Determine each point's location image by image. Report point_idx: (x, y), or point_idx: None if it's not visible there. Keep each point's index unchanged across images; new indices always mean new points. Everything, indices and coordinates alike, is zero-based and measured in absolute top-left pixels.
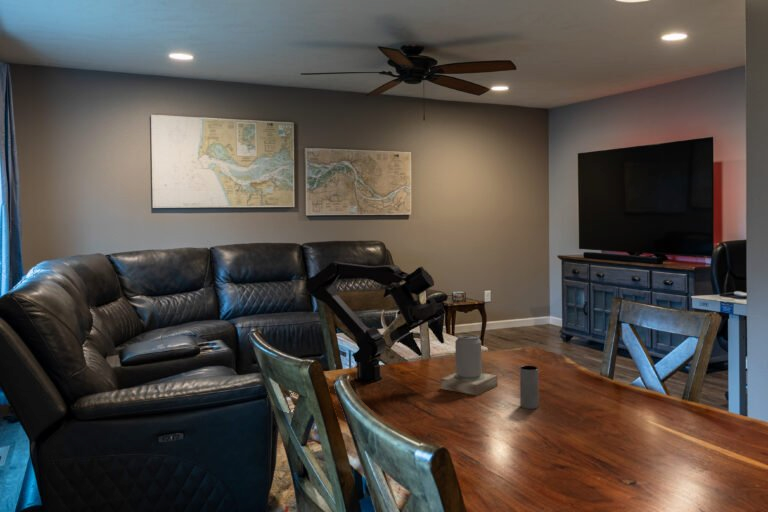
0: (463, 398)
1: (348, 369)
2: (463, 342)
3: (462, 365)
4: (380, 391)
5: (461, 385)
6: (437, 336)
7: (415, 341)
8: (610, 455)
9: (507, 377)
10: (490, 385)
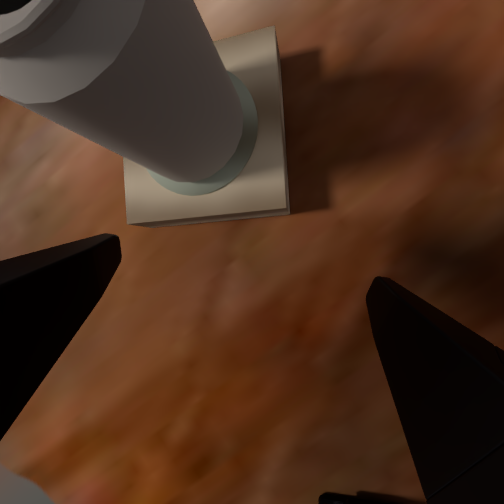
0: (343, 67)
1: None
2: None
3: (227, 82)
4: None
5: (281, 109)
6: (74, 311)
7: (496, 372)
8: None
9: (53, 131)
10: None
